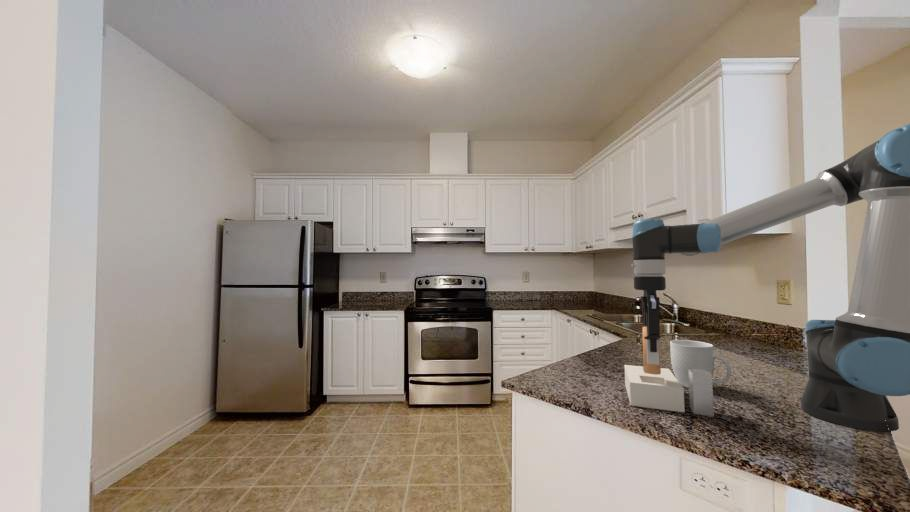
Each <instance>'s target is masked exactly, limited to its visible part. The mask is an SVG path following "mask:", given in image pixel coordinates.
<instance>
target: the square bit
mask: <svg viewBox="0 0 910 512" xmlns="http://www.w3.org/2000/svg"><path fill="white" fill-rule="evenodd" d="M688 374H689V388H688V393H689V408H690V410H691V411H692V413H693V414H694V415H699V414H700V415H701V416H707V415H711V416H710V417H715V413H714V412H715V411H714V390H713V383H712V379H713V377H712V374H711V373H709V372H708V371H707V370H698V369H688Z"/></svg>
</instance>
